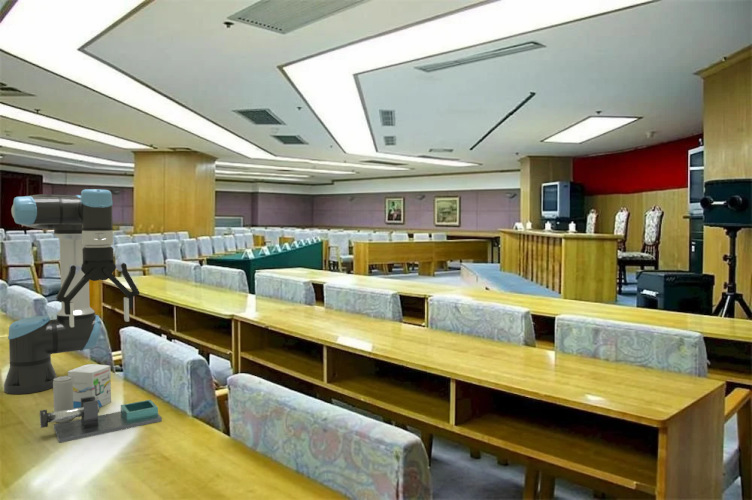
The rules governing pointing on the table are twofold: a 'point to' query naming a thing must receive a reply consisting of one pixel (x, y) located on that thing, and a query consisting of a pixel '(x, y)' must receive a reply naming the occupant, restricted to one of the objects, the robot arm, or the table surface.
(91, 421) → the bolt fixture plate
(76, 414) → the shaft
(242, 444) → the table surface
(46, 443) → the table surface
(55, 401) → the beverage can
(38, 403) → the table surface
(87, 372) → the ink box
